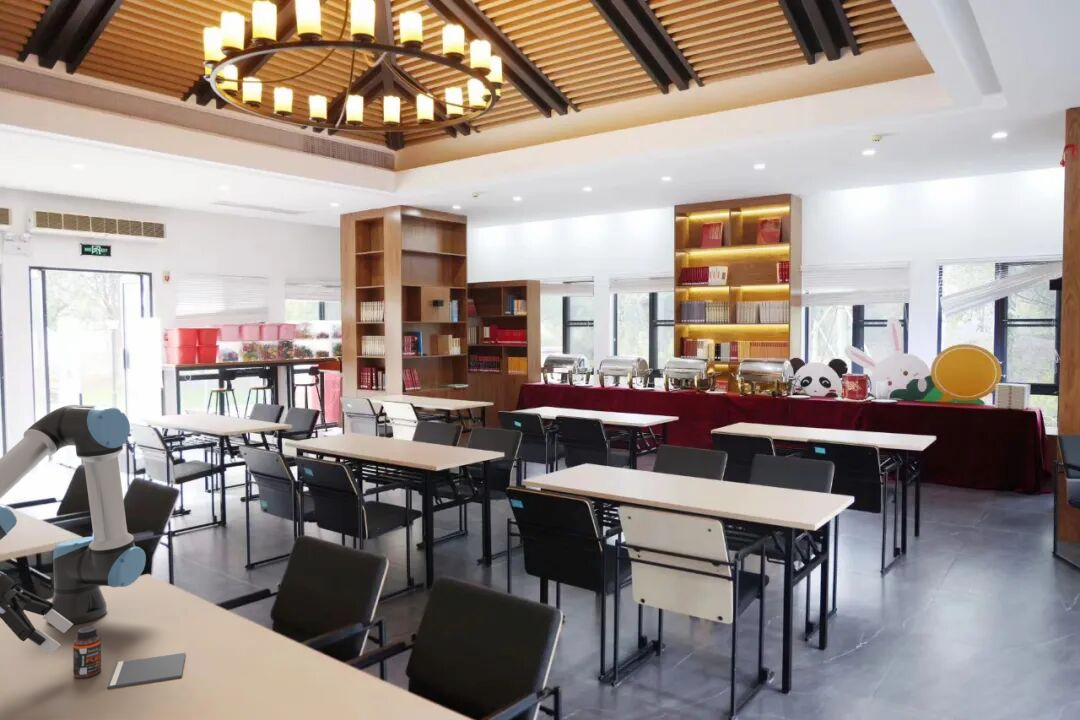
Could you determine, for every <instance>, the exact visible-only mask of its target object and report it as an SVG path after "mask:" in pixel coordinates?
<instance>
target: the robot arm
mask: <svg viewBox="0 0 1080 720" xmlns="http://www.w3.org/2000/svg"><path fill="white" fill-rule="evenodd" d="M130 433H131V426H130V421H129V419H128V417H127V416H126V413H124V412H123V411H121V410H120V409H119V408H117V407H114V406H107V405H102V404H101V405H87V404H86V405H84V404H82V405H79V404H69V405H65V406H64V405H63V406H62V407H61V406H60V407H58V408H56V409H54V410H53V411H51V412H49V413H47V414H46V415H44V416H43V417H41V418H39V419H38V420H37V421H36V422H34V423H33V424H32V425H31V426H29V428H27V429H26V430H25V431H24V432H23V435H22V436H23V438H22V439H21V440H20V441H18V442H17V443H16V444H15V445H14V446H13V447H11V449H9V450H8V451H7V452H6V453H5V454H4V455H3V456H1V457H0V500H1V499H2V498H3V497H4V496H5V495H6V494H7V493H8V492H9V491H10V490H12V489H13V487H15V486H16V485H17V484H18V483H19V482H20V481H21V480H23V478H24V477H25V476H26V475H28V474H29V473H30V472H31V471H32V470H33V469H34V468H35V467H36V466H37V465H39V463H41V461H43V460H44V459H45V458H46V457H47V456H53V455H54V454H56V453H57V452H58V451H59V450H60V449H62V448H64V447H68V446H72V447H73V446H74V447H75V452H76V457H77V458H79V459H81V460H82V461H83V465H84V466H83V467H84V473H85V480H86V489H87V495H88V505H89V512H90V518H91V526H92V532H93V533H92V535H93V536H85V537H78V538H74V539H70V540H66V541H63V542H60V543H58V544H56V545H55V546H54V548H53V553H52V554H53V557H52V571H53V572H52V573H53V596H52V600H51V601H50V600H47V599H45V598H43V597H41V596H38V595H36V594H34V593H32V592H30V591H28V590H26V589H24V588H23V587H22V586H19V585H17V586H15V587H14V588H12V587H13V586H14V585H15V580H14V579H12V577H10V576H8V575H7V574H6V573H0V619H1V620H2V621H3V622H4V623H5V624H6V626H7V627H8V628H9V629H10V630H11V632H13V634H14V635H15V636H16V637H17V638H18V639H19V640H20V641H22V642H25V641H26V640H29V641H30V642H32V643H33V644H35V645H36V646H38V647H39V648H40V649H42V650H43V651H45V652H46V653H47V654H49V655H52V654H53V653H54V652H55V651H56V650H57V649H58V648H59V647H60V646H61V643H59V642H58V641H57V640H56V639H54V638H53V637H51V636H50V635H48V634H47V633H46V632H45V631H43V630H41V629H40V628H39V627H37V628H35V626H34V625H33V624H32V621H31V620H30V619H29V617H28V616H27V614H26V612H25V611H27V612H30V613H33V614H36V615H40V616H42V619H44V620H45V621H46V622H48V623H49V624H50V625H52V626H53V627H54V628H56V629H57V630H58V631H60V632H61V633H63V634H65V633H66V632H67V631H68V630H70V628H71V627H72V626H73V625H78V624H79V625H80V624H83V623H87V622H91V621H93V620H97V619H100V618H101V617H103V616H104V615H105V614H106V613H107V601H106V599H105V597H104V595H103V593H102V590H101V587H100V586H105V587H111V588H125V587H129V586H131V585H132V584H134V583H135V582H136V581H137V580H138V579H139V578H140V576H141V574H142V573H143V571H144V570H145V567H146V562H147V561H146V560H147V559H146V558H147V557H146V556H147V555H146V552H145V551H144V549H142V548H141V547H139V546H136V545H135V537H134V535H133V534H131V533H129V532H128V526H127V520H126V518H127V517H126V510H125V502H124V495H123V489H122V486H123V485H122V478H121V471H120V469H121V468H120V462H119V455H120V453H121V452H122V451H123V449H124V446H123V445H124V444H125V443H126V442H127V440H128V439H129V437H128V436H130ZM17 523H18V521H17V516H16V515H15V513H14V512H13V511H12V510H11V509H9V508H8V507H6V506H5V505H3V504H0V541H1V540H2V539H3V538H4V537H6V536H7V535H8V533H10V531H12V530H13V528H15V527H16V525H17Z"/></svg>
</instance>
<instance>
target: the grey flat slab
mask: <svg viewBox="0 0 1080 720" xmlns="http://www.w3.org/2000/svg"><path fill="white" fill-rule="evenodd" d="M185 658H186V652H181V653H173V654H168V655H159V656H151V657H146V658H139V659H133V660H127V661H124V660H121V661H118V662H117V661H116V663H115V666H114V669H113V672H112V674H111V675H110V679H109V681H108V685H107V689H108V690H109V689H115V688H122V687H127V686H128V687H129V686H135V685H140V684H149V683H155V682H161V681H169V680H174V679H175V680H176V679H180V678H182V676H183V671H184V667H185Z"/></svg>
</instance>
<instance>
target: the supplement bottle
mask: <svg viewBox="0 0 1080 720" xmlns="http://www.w3.org/2000/svg"><path fill="white" fill-rule="evenodd" d="M72 645H73V647H72V652H73V653H72V654H73V655H72V656H73V661H72V662H73V663H72V664H73V665H72V666H73V667H72V668H73V670H72V671H73V676H74V677H75V678H77V679H87V678H91V677H94V676H96V675H97V674H99V673H101V671H102V638H101V636H100V635H99V634H97V627H96V626H91V625H90V626H84V627H82V628H79V629H78V630H77V637H76V638H75V639H74V640H73V643H72Z"/></svg>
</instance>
